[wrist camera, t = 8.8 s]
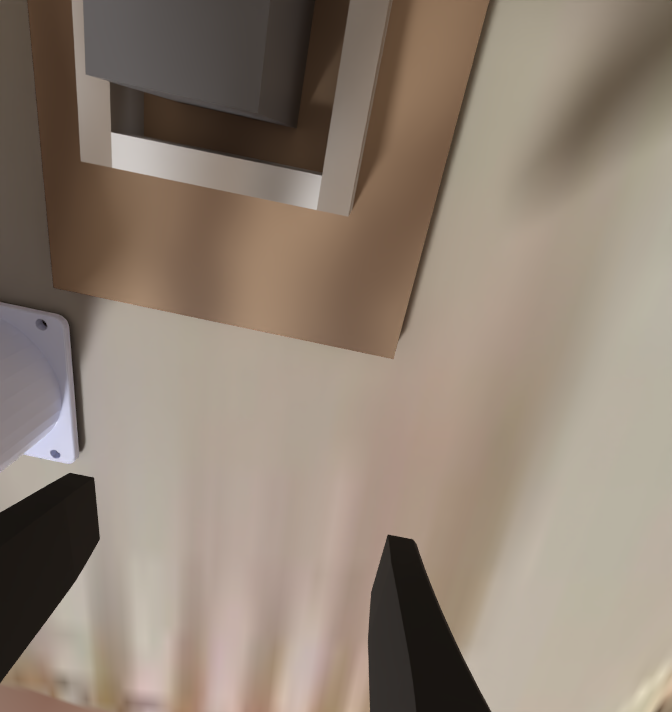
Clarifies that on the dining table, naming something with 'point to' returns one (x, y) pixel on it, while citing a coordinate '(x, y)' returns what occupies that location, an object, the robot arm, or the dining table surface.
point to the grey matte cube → (205, 52)
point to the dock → (259, 176)
